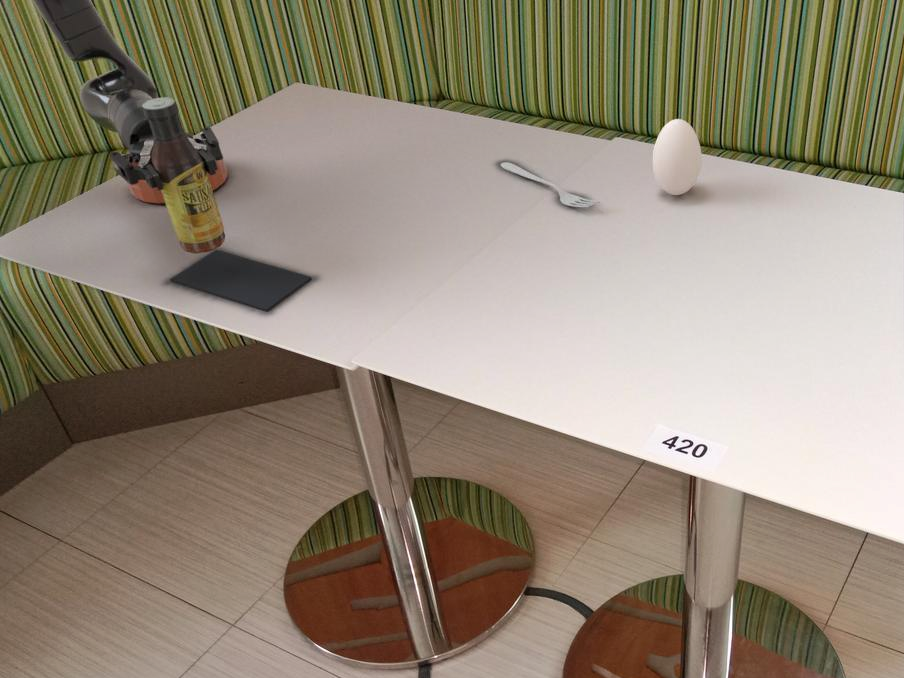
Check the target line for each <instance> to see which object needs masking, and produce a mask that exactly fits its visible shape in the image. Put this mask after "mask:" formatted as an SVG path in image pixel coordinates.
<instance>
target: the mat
mask: <svg viewBox="0 0 904 678" xmlns="http://www.w3.org/2000/svg"><path fill="white" fill-rule="evenodd" d="M169 280H170V282H171V283H173V284H177V285H180V286H183V287H185V288H189V289H192V290H195V291H199V292H202V293H205V294H208V295H212V296H215V297H218V298H222V299H225V300H228V301H230V302H234V303H238V304H241V305H244V306H247V307H250V308H253V309H256V310H260V311H263V312H266V313H268V312H269V311H271V310H272V309H273V308H275V307H276V306H278V305H280V304H281V303H282V302H283V301H285V300H286V299H288V298H289V297H290V296H292V295H293V294H294V293H296V292H297V291H299V289H301V288H303V287H304V286H305V285H307V284H308V283H309V282H311V281H312V280H313V279H312V276H309V275H306V274H302V273H299V272H295V271H292V270H289V269H285V268H282V267H278V266H274V265H272V264H268V263H264V262H260V261H257V260H253V259H250V258H247V257H244V256H240V255H236V254H233V253H230V252H226V251H223V250H219V249H214V250H213V251H211V252H210V253H209V254H207V255H205V256H204V257H203V258H201V259H200V260H198V261H196V262H194V264H192V265H190V266H188V267H187V268H186V269H185V268H184V270H182V271H181V272H179V273H178V274H176V275H174V276H173V277H171V278H170V279H169Z"/></svg>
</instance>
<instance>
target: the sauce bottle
mask: <svg viewBox="0 0 904 678" xmlns="http://www.w3.org/2000/svg"><path fill="white" fill-rule="evenodd" d="M142 108H143V111H144V115H145V116H146V117H147V119H148V121H149V124H150V128H151V130H152V133H153V138H154V140H155V142H154V147H153V150H152V163H153V166H154V169H155V170H156V172H157V173H158V175H159V177H160V179H161V182H162V185H163V188H164V189H163V190H161V192H162V195H163V197H164V201H165V203H164V204H165V206H166V210H167V212H168V215H169V219H170V221H171V224H172V227H173V230H174V233H175V236H176V239H178V241H179V245H180V247H181V249H182V250H183V251H184V252H187V253H192V254H196V255H197V254H202V253H207V252H212V251H215V250H217V249H218V248H220V247H221V246H222V245H223V244H224V242H225V239H226V234H225V226H224V224H223V220H222V217H221V214H220V210H219V207H218V204H217V201H216V198H215V194H214V190H213V191H212V187H211V184H210V181H209V178H208V175H207V171H206V168H205V165H204V162H203V160H202V158H201V157H200V155H199V154H198V152H197V151H196V149H195V148H194V146H193V145H192V143H191V142H190V141H189V139H188V138H187V136H186V134H185V132H186V131H185V129H184V128H183V126H182V122H181V119H180V116H179V107H178V105H177V101H176V100H175V99H174V98H172V97H168V96H167V97H166V96H164V97H158V98H155V99H151V100H148V101H146V102H145V103H143V105H142Z"/></svg>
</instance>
